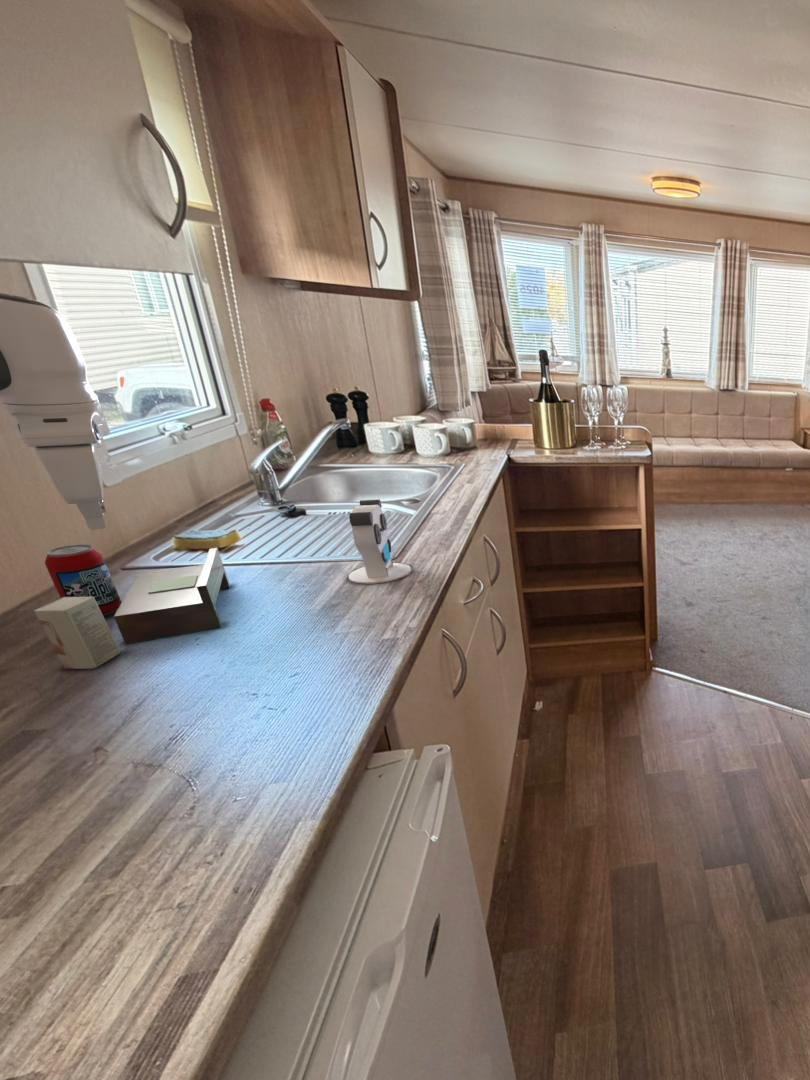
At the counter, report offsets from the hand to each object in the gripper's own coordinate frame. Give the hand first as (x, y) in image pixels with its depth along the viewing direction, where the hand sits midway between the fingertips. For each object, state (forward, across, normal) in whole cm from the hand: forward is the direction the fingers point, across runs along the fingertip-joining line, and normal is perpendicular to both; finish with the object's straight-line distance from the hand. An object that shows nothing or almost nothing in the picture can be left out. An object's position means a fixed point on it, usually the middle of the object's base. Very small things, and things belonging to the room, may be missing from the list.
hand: (98, 520), depth 93 cm
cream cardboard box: (+23, -2, -7) cm, 24 cm away
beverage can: (+23, -25, -6) cm, 34 cm away
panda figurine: (+22, -16, +36) cm, 45 cm away
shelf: (+22, -17, +5) cm, 28 cm away
